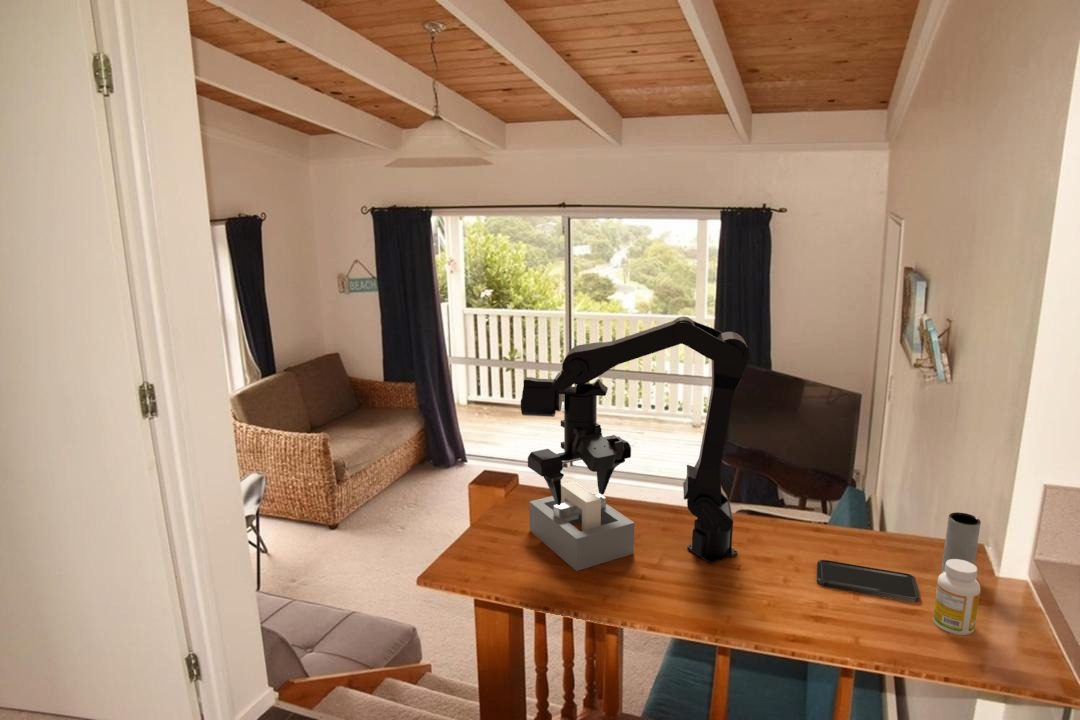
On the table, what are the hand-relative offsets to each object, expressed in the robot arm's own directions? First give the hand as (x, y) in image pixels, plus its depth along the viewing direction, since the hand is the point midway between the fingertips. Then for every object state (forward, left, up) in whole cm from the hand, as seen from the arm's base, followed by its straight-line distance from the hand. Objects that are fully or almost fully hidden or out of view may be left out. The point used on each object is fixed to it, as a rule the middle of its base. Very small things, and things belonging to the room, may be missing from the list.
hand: (580, 499), depth 128 cm
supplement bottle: (-34, +49, -9) cm, 60 cm away
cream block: (0, 0, -6) cm, 6 cm away
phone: (-33, +35, -9) cm, 49 cm away
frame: (0, 0, -8) cm, 8 cm away
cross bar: (0, 0, -2) cm, 2 cm away
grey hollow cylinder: (-48, +41, -9) cm, 64 cm away
